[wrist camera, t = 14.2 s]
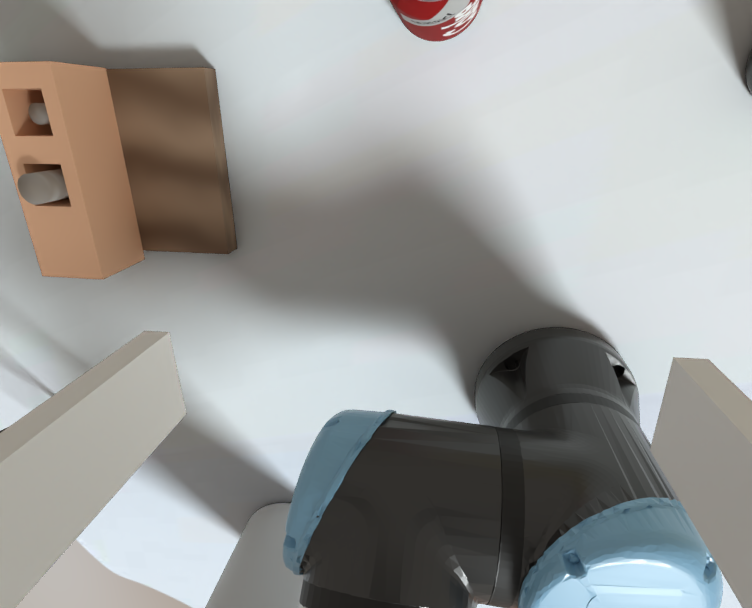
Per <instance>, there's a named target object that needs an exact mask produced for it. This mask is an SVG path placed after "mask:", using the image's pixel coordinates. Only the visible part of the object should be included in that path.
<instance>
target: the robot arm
mask: <svg viewBox="0 0 752 608" xmlns="http://www.w3.org/2000/svg"><path fill="white" fill-rule="evenodd" d="M475 403H476V413H477V417H478V420H479V423H480V424H471V423H464V422H456V421H449V420H441V419H434V418H426V417H419V416H411V415H404V414H397V413H396V411H394V410H387V411H385V412H376V411H363V410H345V411H342V412H340V413H338V414H336V415H334V416H333V417H332V418H331V419H330V420H329V421H328V422H327V423H326V424H325V425H324V427H323V428H322V430H321V431H320V433H319V434H318V436H317V437H316V439H315V441H314V443H313V445H312V447H311V449H310V451H309V453H308V456H307V458H306V460H305V463H304V465H303V468H302V470H301V473H300V476H299V479H298V482H297V485H296V488H295V491H294V494H293V498H292V501H291V505H290V508H289V512H288V517H287V521H286V529H285V530H286V536H285V540H284V543H283V560H284V563H285V566H286V567H287V568H288V569H290V570H291V571H293V573H294V574H295V575H303V583H302V589H301V594H300V600H299V606H298V607H299V608H476V607H477V604H485V605H491V606H496V607H502V608H719V607H720V604H721V600H722V594H723V582H722V575H721V572H722V574H723V575H724V577H725V579H726V580H727V582H728V584H729V585H730V587H731V589H732V591H733V592H734V594H735V596H736V597H737V599H738V601H739V602H740V604H741V606H742V608H752V401H751V400H750V399H749V398H748V397H747V396H746V395H745V394H744V393H743V392H742V391H741V390H740V389H739V388H738V387H737V386H736V385H735V384H734V383H732V382H731V381H730V380H729V379H728V378H727V377H726V376H725V375H724V374H723V373H722V372H721V371H720V370H719V369H718V368H717V367H716V366H715V365H714V364H713V363H712V362H711V361H710V360H709V359H694V358H674V357H673V361H672V365H671V369H670V373H669V377H668V381H667V385H666V389H665V393H664V397H663V401H662V404H661V408H660V412H659V416H658V420H657V424H656V428H655V432H654V436H653V440H652V444H650V442H649V441H648V439H647V437H646V436H645V434H644V433H643V431H642V429H641V428H640V411H639V394H638V389H637V385H636V382H635V379H634V377H633V375H632V373H631V371H630V370H629V368H628V366H627V365H626V364H625V362H624V361H623V359H622V358H621V356H620V355H619V354H618V353H617V352H616V350H615V349H613V348H612V347H611V346H610V345H609V344H608V343H606V342H605V341H603V340H602V339H600V338H598V337H596V336H594V335H592V334H589V333H587V332H583V331H580V330H576V329H570V328H543V329H537V330H533V331H529V332H526V333H523V334H520V335H518V336H516V337H514V338H512V339H510V340H508V341H507V342H505V343H504V344H502V345H501V346H500V347H498V348H497V349H496V350H495V351H494V352H493V353H492V354H491V355H490V356H489V357H488V359H487V360H486V361H485V363H484V364H483V366H482V368H481V370H480V372H479V374H478V377H477V381H476V386H475ZM186 414H187V413H186V408H185V404H184V399H183V394H182V390H181V385H180V380H179V376H178V371H177V366H176V362H175V357H174V352H173V347H172V343H171V338H170V333H169V332H155V331H144V332H142V333H141V334H139V335H138V336H137V337H135V338H134V339H132V340H131V341H130V342H128V343H127V344H125V345H124V346H123V347H121V348H120V349H118V350H117V351H115V352H114V353H113V354H111V355H110V356H108V357H107V358H106V359H104V360H103V361H101V362H100V363H99V364H97V365H96V366H94V367H93V368H91V369H90V370H89V371H87V372H86V373H84V374H83V375H82V376H80V377H79V378H77V379H76V380H75V381H73V382H72V383H70V384H69V385H67V386H66V387H65V388H63V389H62V390H60V391H59V392H58V393H56V394H55V395H53V396H52V397H50V398H49V399H48V400H46V401H45V402H43V403H42V404H41V405H39V406H38V407H36V408H35V409H34V410H32V411H31V412H29V413H28V414H26V415H25V416H24V417H22V418H21V419H19V420H18V421H17V422H15V423H14V424H12V425H11V426H10V427H7V428H5V429H3V430H1V431H0V608H15V607H16V606H17V605H18V604H19V603H20V602H21V601H22V600H23V598H24V597H25V596H26V595H27V594H28V593H29V592H30V590H31V589H32V588H33V587H34V586H35V585H36V584H37V583H38V581H39V580H40V579H41V578H42V577H43V576H44V575H45V574H46V572H47V571H48V570H49V569H50V568H51V567H52V565H53V564H54V563H55V562H56V561H57V560H58V559H59V557H60V556H61V555H62V554H63V553H64V552H65V551H66V550H67V549H68V547H69V546H70V545H71V544H72V543H73V542H74V541H75V540H76V538H77V537H78V536H79V535H80V534H81V533H82V532H83V531H84V529H85V528H86V527H87V526H88V525H89V524H90V523H91V521H92V520H93V519H94V518H95V517H96V516H97V515H98V514H99V512H100V511H101V510H102V509H103V508H104V507H105V506H106V504H107V503H108V502H109V501H110V500H111V499H112V498H113V497H114V495H115V494H116V493H117V492H118V491H119V490H120V489H121V488H122V486H123V485H124V484H125V483H126V482H127V481H128V480H129V478H130V477H131V476H132V475H133V474H134V473H135V472H136V471H137V469H138V468H139V467H140V466H141V465H142V464H143V463H144V461H145V460H146V459H147V458H148V457H149V456H150V455H151V454H152V452H153V451H154V450H155V449H156V448H157V447H158V446H159V444H160V443H161V442H162V441H163V440H164V439H165V438H166V437H167V435H168V434H169V433H170V432H171V431H172V430H173V429H174V428H175V426H176V425H177V424H178V423H179V422H180V421H181V420H182V418H183V417H184V416H185V415H186ZM720 570H721V571H720Z"/></svg>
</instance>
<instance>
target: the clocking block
mask: <svg viewBox="0 0 752 608" xmlns="http://www.w3.org/2000/svg"><path fill="white" fill-rule="evenodd" d="M32 103H45V106H46V110H47V114H48V118H49V121H50V124H47V125H39V124H36V123H35V122H33V121H32V119H31V118H30V116H29V112H28V109H29V106H30V105H31V104H32ZM0 135H1V139H2V142H3V145H4V149H5V152H6V155H7V159H8V162H9V165H10V169H11V172H12V175H13V179H14V182H15V185H16V189H17V192H18V195H19V199H20V202H21V206H22V209H23V212H24V216H25V219H26V222H27V226H28V229H29V232H30V236H31V239H32V242H33V246H34V249H35V252H36V256H37V259H38V263H39V266H40V269H41V273H42V276H49V277H67V278H86V279H105V278H107V277H109V276H111V275H113V274H116V273H118V272H120V271H122V270H124V269H126V268H128V267H130V266H132V265H134V264H136V263H138V262H140V261H142V260H144V259H145V257H144V253H143V248H142V243H141V238H140V233H139V228H138V223H137V218H136V213H135V209H134V204H133V199H132V194H131V189H130V184H129V179H128V174H127V169H126V165H125V160H124V155H123V150H122V145H121V140H120V135H119V130H118V126H117V121H116V116H115V111H114V106H113V101H112V96H111V91H110V86H109V82H108V77H107V72H106V68H102V67H94V66H86V65H77V64H69V63H61V62H53V61H32V62H0ZM55 169H62V172H63V176H64V180H65V184H66V188H67V192H68V195H69V198H65V199H60V200H56V201H52V202H47V203H43V204H38V205H34V204H31V203H29V202H27V201H26V200H25V199H24V198H23V197H22V196H21V194H20V192H19V189H18V179H19V178H20V176H22V175H23V174H28V173H35V172H41V171H48V170H55Z"/></svg>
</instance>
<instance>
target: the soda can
mask: <svg viewBox="0 0 752 608" xmlns="http://www.w3.org/2000/svg"><path fill="white" fill-rule="evenodd" d="M482 1H483V0H390V2H391V3H392V5H393V7H394V8H395V10H396V12H397V14H398V15H399V17H400V19H401V21H402V22H403V24H404V25H405V26H406V28H407V29H408V30H409V31H410V32H411V33H413V34H414V35H416V36H417V37H419V38H421V39H424V40H427V41H444V40H448V39H451V38H453V37H455V36H457V35H459V34H460V33H462V32H463V31H464V30H465V29H466V28H467V27H468V26H469V25H470V24H471V23H472V22H473V20H474V19H475V17H476V15H477V14H478V12H479V10H480V7H481V5H482Z"/></svg>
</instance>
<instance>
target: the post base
mask: <svg viewBox="0 0 752 608" xmlns="http://www.w3.org/2000/svg"><path fill="white" fill-rule="evenodd" d="M106 72H107V77H108V82H109V86H110V91H111V96H112V101H113V106H114V111H115V116H116V121H117V126H118V130H119V135H120V140H121V145H122V150H123V155H124V160H125V165H126V169H127V174H128V179H129V184H130V189H131V194H132V199H133V204H134V209H135V213H136V218H137V223H138V228H139V233H140V238H141V243H142V248H143V250H146V251H169V252H192V253H215V254H229V253H231V252H232V251H234V250H235V249H237V243H236V235H235V227H234V219H233V210H232V202H231V194H230V186H229V178H228V170H227V162H226V154H225V145H224V137H223V129H222V121H221V113H220V105H219V97H218V89H217V80H216V72H215V69H210V68H204V67H197V68H138V69H106ZM28 112H29V116H30V118H31V119H32V121H33V122H35V123H36V124H39V125H47V124H50V121H49V118H48V114H47V110H46V106H45V103H32V104H31V105H30V106H29V109H28ZM18 189H19V192H20V194H21V196H22V197H23V198H24V199H25V200H26V201H27V202H29V203H31V204H34V205H38V204H43V203H47V202H52V201H56V200H60V199H65V198H69V195H68V192H67V188H66V184H65V180H64V176H63V172H62V169H55V170H48V171H41V172H35V173H28V174H23V175H22V176H20V178H19V179H18Z"/></svg>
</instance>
